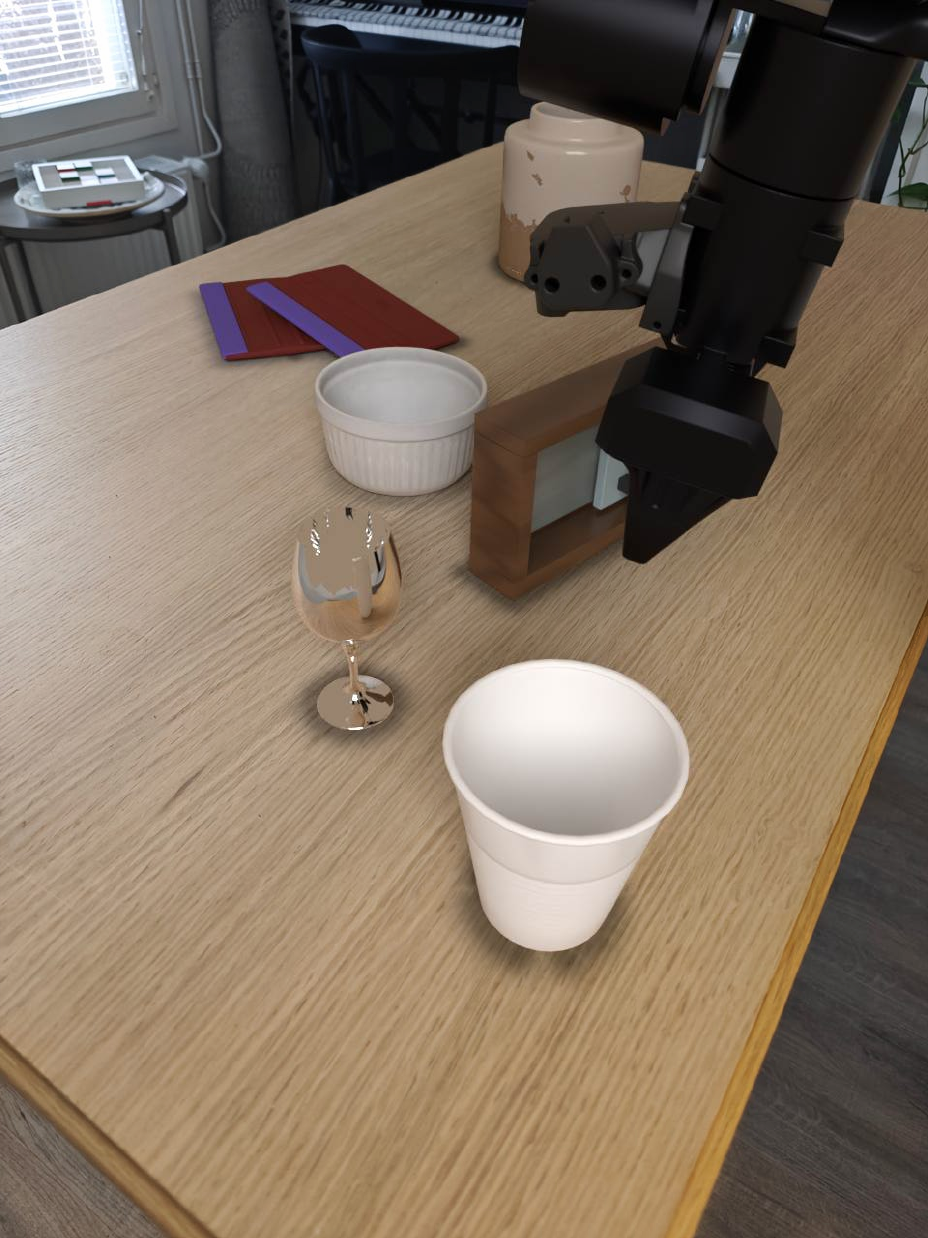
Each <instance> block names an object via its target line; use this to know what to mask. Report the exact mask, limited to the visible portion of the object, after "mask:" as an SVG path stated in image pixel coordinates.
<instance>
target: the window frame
mask: <svg viewBox="0 0 928 1238" xmlns="http://www.w3.org/2000/svg"><path fill="white" fill-rule="evenodd" d="M655 346H658V347H661V348H664V349H667V348H666V346H665V344H664V341H663V339H662V337H661V336H659V337H656V338H654V339H651V340H649V341H646V342H644V343H641V344H639V345H636V346H634V347H631V348H629V349H627V350H624V351H622V352H620V353H618V354H615V355H613V356H610V357H607V358H605V359H603V360H601V361H597V362H595V363H593V364H591V365H588V366H586V367H583V368H581V369H578V370H576V371H574V372H571V373H568V374H566V375H564V376H562V377H559V378H556V379H555V380H552V381H549V382H546V383H544V384H542V385H540V386H538V387H535V388H533V389H530V390H527V391H525V392H523V393H520V394H518V395H515V396H513V397H511V398H508V399H506V400H503V401H501V402H499V403H496V404H494V405H492V406H489V407H486V409H484V410H481V411H479V412H477V413H475V414H474V444H473V463H472V474H471V479H472V480H471V501H470V527H469V528H470V530H469V555H468V572H469V573H471V574H472V575H474V576H475V577H477V579H478V578H479V579H480V580H481V581H482V582H484V583H485V584H487V585H489V586H490V587H491V588H493V589H495V590H496V591H498V592H499V593H500V594H501V595H503V596H505V597H506V598H507V599H509V600H510V601H513V602H515V601H516V600H518V599H520V598H522V597H523V596H525V595H527V594H529V593H530V592H532V591H534V590H535V589H537V588H539V587H541V586H542V585H544V584H546V583H548V582H549V581H552V580H553V579H554V578H556V577H558V576H560V575H561V574H563V573H565V572H567V571H569V570H571V569H572V568H573V567H575V566H577V565H579V564H580V563H582V562H584V561H586V560H588V559H589V558H591V557H593V556H594V555H596V554H598V553H599V552H601V551H603V550H605V549H607V548H608V547H610V546H612V545H613V544H616V543H618V542H619V541H620V540H623V538H624V528H625V518H626V508H627V498H628V496H626V497H624V498H622V499H620V500H618V501H617V502H615V503H613V504H611V505H609V506H607V507H606V508H604V509H602V510H600V509H598V508H596V507H594V506H593V502H594V494H595V487H596V480H597V472H598V465H599V458H600V451H601V448H600V447H599V446H598V445H597V444H596V443H595V438H596V435H597V432H598V429H599V426H600V423H601V420H602V417H603V414H604V411H605V408H606V405H607V402H608V399H609V396H610V394H611V392H612V389H613V387H614V385H615V383H616V381H617V378H618V376H619V374H620V372H621V370H622V367H623V365H624V363H625V361H626V360H628V359H630V358H632V357H634V356H636V355H638V354H640V353H642V352H644V351H647V350H649V349H651V348H653V347H655Z"/></svg>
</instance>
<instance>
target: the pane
mask: <svg viewBox="0 0 928 1238" xmlns="http://www.w3.org/2000/svg"><path fill="white" fill-rule="evenodd" d="M628 485H629V472H628V470H627V468H626V467H625V465H624V464H623V463H622V462H620V461H618V460H616V459H614V458H612V457H611V456H609V455H608V454H606V453H605V452H604V451H603V450H602V449H601V451H600V458H599V465H598V472H597V480H596V487H595V494H594V502H593V506H594V507H596V508H598V509H600V510H602V509H604V508H606V507H607V506H609V505H611V504H613V503H615V502H617V501H618V500H620V499H622V498H624V497H626V496H628Z"/></svg>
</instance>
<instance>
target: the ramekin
mask: <svg viewBox="0 0 928 1238" xmlns="http://www.w3.org/2000/svg"><path fill="white" fill-rule="evenodd" d="M488 387H489V386H488V382H487V380H486V378H485V376H484V374H483V373H482V372H481V371H480V370H479V368H477V367H476V366H475V365H473V364H471V363H470V362H468V361H466V360H464V359H463V358H460V357H459V356H456V355H453V354H450V353H447V352H443V351H439V350H436V349H435V350H430V349H423V348H413V347H386V348H376V349H369V350H364V351H360V352H356V353H352V354H349V355H346V356H344V357H341V358H340V357H339V358H338V359H336V360H333V361H332V362H330V363H328V364H327V365H325V367H324V368H322V370H321V371H320V372H319V373H318V375H317V377H315V381H314V385H313V388H314V389H313V393H314V394H313V395H314V396H313V397H314V398H313V399H314V405H315V408H316V410H317V412H318V413H319V417H320V422H321V427H322V431H323V433H322V434H323V437H324V443H325V446H326V450H327V451H326V452H327V454H328V457H329V460H330V462H331V464H332V466H333V468H334V469H335V470H336V471H337V473H338V474H339V475H341V476H342V477H343V479H345V480H346V481H347V482H348V483H350V484H351V485H353V486H355V487H357V488H359V489H361V490H364V491H367V492H370V493H374V494H377V495H383V496H390V497H413V496H414V497H415V496H423V495H428V494H431V493H435V492H438V491H441V490H443V489H445V488H448V487H449V486H452V485H453V484H454V483H456V482H457V481H459V479H460V478H461V477H463V476H464V475H465V473H466V472H468V471H469V469H470V467H471V466H472V465H473V444H474V414H475V413H477V412H479V411H481V410H484V409H486V408H488V401H489V400H488V399H489V398H488V397H489V395H488V394H489V388H488Z"/></svg>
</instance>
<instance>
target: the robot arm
mask: <svg viewBox="0 0 928 1238" xmlns="http://www.w3.org/2000/svg"><path fill="white" fill-rule="evenodd" d="M737 11H742V12H745V13H749V14H752V15H753V18H752V20H751V23H750V26H749V29H748V32H747V35H746V38H745V41H744V44H743V47H742V50H741V53H740V55H739V59H738V62H737V64H736V68H735V71H734V73H733V76H732V79H731V83H730V85H729V88H728V91H727V95H726V97H725V100H724V103H723V106H722V109H721V112H720V115H719V118H718V121H717V124H716V127H715V129H714V133H713V136H712V138H711V142H710V145H709V149H708V151H707V154H706V156H705V158H704V162H703V165H702V167H701V171H699V170H695V171H694V173H693V174H692V177H691V180H690V183H689V185H688V187H687V188H688V189H687V191H684V193H683V195H682V197H681V198H680V201H636V202H630V203H617V204H604V205H591V206H578V207H569V208H563V209H559V210H556V211H553V212H551V213H549V214H548V215H547V216H546V217H545V218H544V219H543V220H542V222H541V223H540V224H539V225H538V226H537V227H536V229H535V230H534V231H533V232H532V233H531V235H530V237H529V238H530V264H529V267H528V269H527V270H526V272H525V274H524V282H523V283H524V285H525V287H526V288H527V289H528V290H531V291H533V292H534V296H535V304H536V312H537V314H538V315H540V316H542V317H546V318H564V317H566V316H567V315H569V314H570V313H578V312H604V311H605V312H606V311H625V310H626V311H627V310H635V309H639V308H640V307H643V310H642V314H641V317H640V319H639V323H638V325H637V326H638V328H640V329H644V330H647V331H650V332H653V333H656V334H659V335H660V337H662V339H663V341H664V344H665V346H666V348H667V349H664V348H661V347H658V346H655V347H653V348H651V349H649V350H647V351H644V352H642V353H640V354H638V355H636V356H634V357H632V358H630V359H628V360H626V361H625V363H624V365H623V367H622V370H621V372H620V374H619V376H618V378H617V381H616V383H615V385H614V387H613V389H612V392H611V394H610V396H609V399H608V402H607V405H606V408H605V411H604V414H603V417H602V420H601V423H600V426H599V429H598V432H597V435H596V438H595V443H596V444H597V445H598V446H599V447H600V448H601V449H602V450H603V451H604V452H605V453H606V454H608V455H609V456H611V457H612V458H614V459H616V460H618V461H620V462H622V463H623V464H624V465H625V467H626V468H627V470H628V472H629V485H628V498H627V508H626V518H625V528H624V538H622V551H621V555H622V557H623V558H624V559H625V560H627V561H631V562H633V563H636V564H639V565H646V564H647V563H649V562H650V561H652V559H653V558H655V557H657V556H658V555H659V554H660V553H662V552H663V551H664V550H665V549H666V548H668V547H669V546H671V545H672V544H673V543H674V542H676V541H677V540H678V539H679V538H681V537H682V536H683V535H685V534H686V533H687V532H689V531H690V530H691V529H693V528H694V527H695V526H697V525H698V524H699V523H701V522H702V521H703V520H705V519H706V518H708V517H709V516H710V515H712V514H713V513H715V512H716V511H718V510H719V509H721V508H722V507H723V506H726V505H727V504H728V503H730V502H731V501H733V500H742V499H749V498H755V497H758V495H759V494H760V491H761V489H762V488H763V485H764V483H765V481H766V479H767V477H768V475H769V473H770V471H771V468H772V467H773V464H774V462H775V461H776V458H777V456H778V454H779V447H780V440H781V432H782V422H783V417H784V410H783V408H782V406H781V404H780V402H779V399H778V397H777V395H776V394H775V391H774V389H773V387H772V385H771V383H770V381H766V380H763V379H761V378H757V377H756V376H758V374H759V373H760V372H761V371H762V370H763V368H765V366H766V365H767V364H769V365H771V366H772V365H773V366H775V367H778V368H781V369H786V367H787V365H788V363H789V361H790V359H791V358H792V355H793V352H794V350H795V348H796V346H797V339H798V329H799V324H800V321H801V319H802V317H803V315H804V313H805V310H806V308H807V306H808V304H809V302H810V299H811V297H812V295H813V293H814V291H815V288H816V286H817V284H818V282H819V279H820V277H821V274H822V272H823V271H824V268H825V267H828V268H832V267H833V266H834V264H835V262H836V259H837V257H838V254H839V252H840V250H841V248H842V245H843V243H844V242H845V223H846V220H847V218H848V215H849V213H850V211H851V209H852V206H853V204H854V202H855V200H856V198H857V195H858V193H859V190H860V188H861V186H862V184H863V182H864V179H865V177H866V175H867V173H868V171H869V168H870V166H871V164H872V162H873V160H874V157H875V155H876V153H877V151H878V148H879V146H880V144H881V142H882V140H883V137H884V135H885V134H886V131H887V128H888V126H889V124H890V122H891V120H892V118H893V115H894V113H895V111H896V108H897V106H898V105H899V102H900V100H901V98H902V95H903V94H904V91H905V88H906V87H907V84H908V82H909V80H910V77H911V75H912V74H913V71H914V69H915V67H916V65H917V63H918V60H919V61H922V62H926V63H928V0H829V1H826V0H527V3H526V7H525V13H524V17H523V22H522V28H521V34H520V39H519V46H518V57H517V87H518V91H519V93H520V95H521V96H523V97H525V98H530V99H534V100H536V101H540V102H547V103H550V104H553V105H557V106H560V107H564V108H567V109H570V110H574V111H577V112H580V113H584V114H587V115H591V116H594V117H597V118H601V119H604V120H608V121H611V122H614V123H618V124H621V125H624V126H628V127H631V128H634V129H636V130H638V131H642V132H645V133H649V134H652V135H655V136H659V137H663V136H664V135H665V133H666V132H667V129H668V127H669V125H670V123H671V121H673V122H678V120H679V119H680V116H681V113H682V111H683V109H685V112H686V113H689V114H693V115H696V116H701V115H702V113H703V111H704V108H705V106H706V104H707V101H708V98H709V96H710V93H711V91H712V88H713V85H714V82H715V81H716V80H715V79H716V77H717V74H718V71H719V68H720V65H721V62H722V59H723V57H724V53H725V51H726V47H727V44H728V41H729V37H730V35H731V31H732V29H733V25H734V22H735V18H736V15H737Z"/></svg>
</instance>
